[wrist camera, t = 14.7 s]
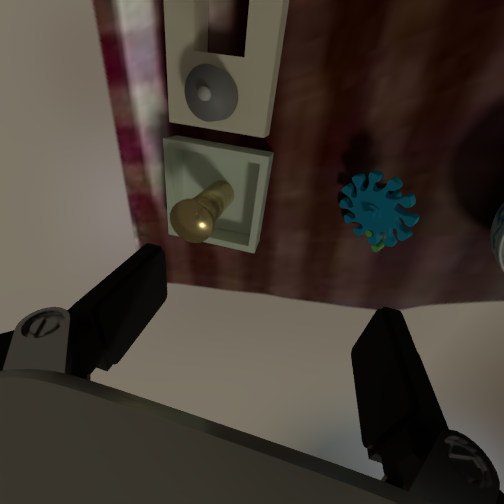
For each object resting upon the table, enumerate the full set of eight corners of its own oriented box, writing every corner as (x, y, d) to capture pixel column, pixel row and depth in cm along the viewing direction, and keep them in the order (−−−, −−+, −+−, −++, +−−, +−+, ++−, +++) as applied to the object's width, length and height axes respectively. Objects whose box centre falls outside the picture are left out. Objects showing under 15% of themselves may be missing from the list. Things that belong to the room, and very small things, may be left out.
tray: (177, 135, 35) (162, 138, 31) (273, 152, 33) (269, 157, 30) (180, 223, 42) (168, 233, 39) (259, 241, 40) (254, 253, 37)
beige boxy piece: (181, -27, 26) (134, -75, 19) (291, -17, 25) (283, -64, 18) (183, 120, 33) (151, 123, 27) (269, 134, 32) (257, 141, 25)
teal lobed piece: (334, 170, 31) (418, 182, 23) (364, 153, 33) (450, 159, 25) (338, 240, 37) (405, 267, 30) (363, 222, 39) (432, 244, 32)
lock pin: (205, 173, 36) (168, 196, 27) (239, 179, 35) (213, 205, 26) (205, 206, 39) (170, 237, 29) (236, 212, 38) (211, 247, 29)
